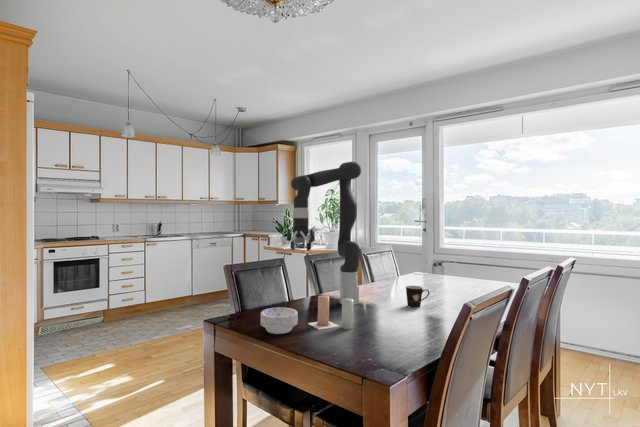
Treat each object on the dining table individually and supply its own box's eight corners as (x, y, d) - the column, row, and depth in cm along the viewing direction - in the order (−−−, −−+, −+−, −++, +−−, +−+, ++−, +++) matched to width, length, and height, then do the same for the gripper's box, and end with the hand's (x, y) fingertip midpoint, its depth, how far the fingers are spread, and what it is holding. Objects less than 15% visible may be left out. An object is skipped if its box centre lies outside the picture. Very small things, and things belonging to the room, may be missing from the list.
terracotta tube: (325, 322, 175) (325, 294, 175) (330, 325, 171) (331, 297, 171) (315, 323, 173) (316, 295, 173) (321, 326, 169) (321, 298, 168)
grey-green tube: (348, 325, 172) (349, 297, 172) (355, 328, 168) (355, 300, 167) (339, 327, 169) (339, 298, 169) (345, 330, 165) (346, 301, 165)
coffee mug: (404, 307, 205) (404, 287, 205) (407, 303, 213) (407, 285, 213) (427, 309, 201) (427, 289, 201) (429, 305, 209) (429, 286, 209)
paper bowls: (282, 339, 153) (282, 318, 153) (252, 332, 161) (252, 312, 161) (304, 329, 166) (305, 310, 166) (276, 323, 174) (276, 305, 174)
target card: (327, 320, 179) (327, 319, 179) (339, 326, 170) (339, 325, 170) (307, 323, 174) (307, 322, 174) (319, 329, 165) (319, 328, 165)
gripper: (317, 217, 195) (317, 250, 195) (291, 216, 201) (291, 248, 201) (310, 217, 188) (310, 251, 189) (284, 217, 194) (284, 250, 195)
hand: (300, 250), depth 195 cm, fingers open, 8 cm apart
